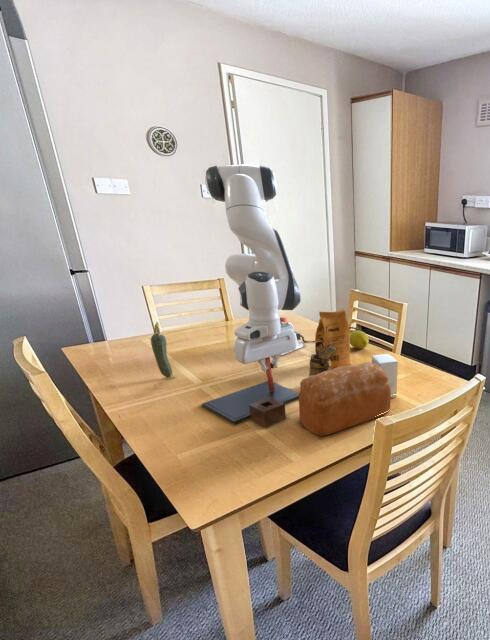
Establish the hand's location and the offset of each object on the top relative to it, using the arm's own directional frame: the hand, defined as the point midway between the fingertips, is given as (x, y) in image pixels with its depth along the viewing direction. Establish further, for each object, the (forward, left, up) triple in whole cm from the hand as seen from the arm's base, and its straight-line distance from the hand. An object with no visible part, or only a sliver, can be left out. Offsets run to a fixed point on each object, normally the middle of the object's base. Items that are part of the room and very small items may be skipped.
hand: (269, 369), depth 130 cm
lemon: (-54, -12, -9) cm, 56 cm away
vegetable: (+16, -37, -9) cm, 42 cm away
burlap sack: (-14, +9, -9) cm, 19 cm away
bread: (-5, +29, -9) cm, 31 cm away
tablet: (+7, 0, -9) cm, 11 cm away
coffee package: (-32, -5, -9) cm, 34 cm away
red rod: (0, 0, -8) cm, 8 cm away
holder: (+11, +13, -9) cm, 19 cm away
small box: (-25, +27, -9) cm, 38 cm away
